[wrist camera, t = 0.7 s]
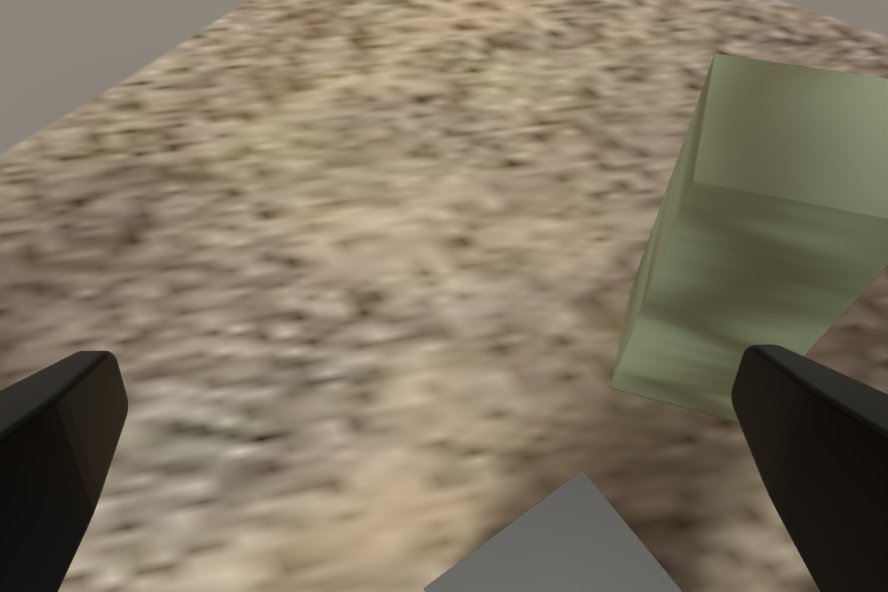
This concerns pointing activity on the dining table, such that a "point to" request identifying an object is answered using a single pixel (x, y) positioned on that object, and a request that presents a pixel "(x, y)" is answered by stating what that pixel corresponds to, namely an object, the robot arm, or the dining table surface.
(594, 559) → the charcoal cube
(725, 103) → the sage pillar
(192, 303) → the dining table surface
